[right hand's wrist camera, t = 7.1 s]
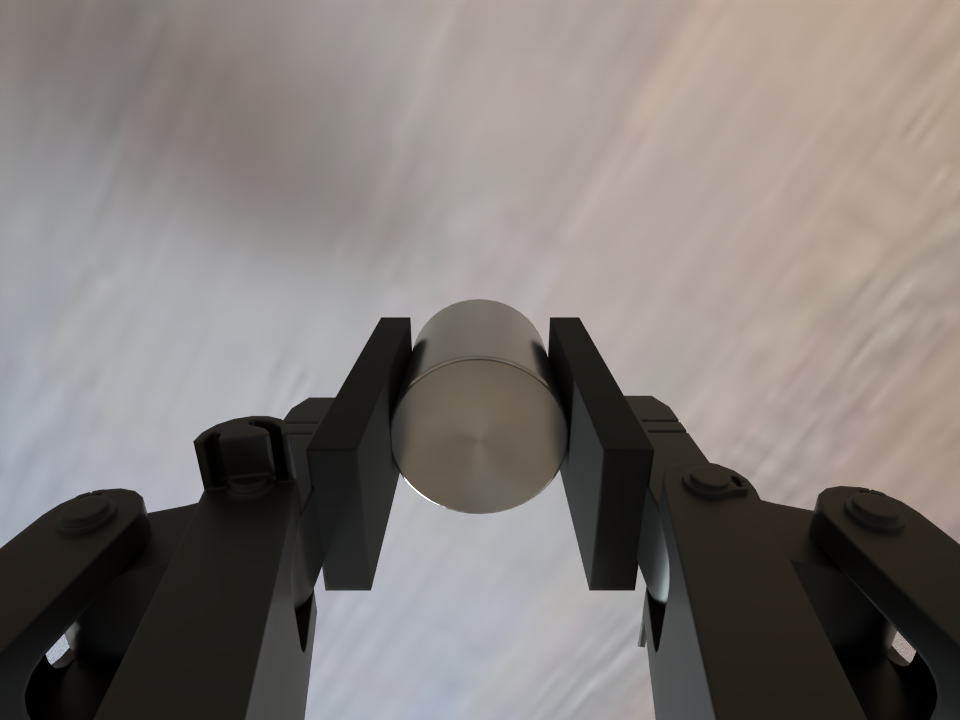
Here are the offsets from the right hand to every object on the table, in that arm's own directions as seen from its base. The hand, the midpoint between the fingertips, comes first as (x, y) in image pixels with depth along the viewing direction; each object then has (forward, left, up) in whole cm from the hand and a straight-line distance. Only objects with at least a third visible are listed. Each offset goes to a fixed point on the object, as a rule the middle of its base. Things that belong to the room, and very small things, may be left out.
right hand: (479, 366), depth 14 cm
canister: (0, 0, 0) cm, 0 cm away
